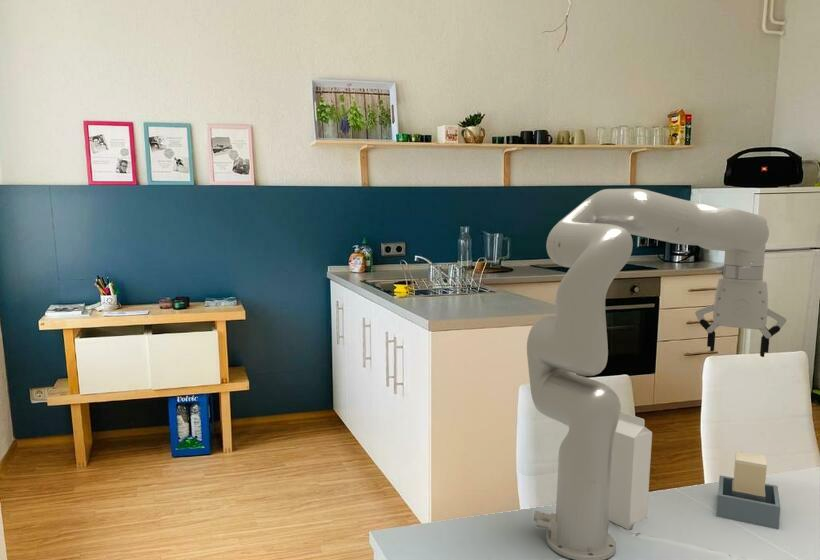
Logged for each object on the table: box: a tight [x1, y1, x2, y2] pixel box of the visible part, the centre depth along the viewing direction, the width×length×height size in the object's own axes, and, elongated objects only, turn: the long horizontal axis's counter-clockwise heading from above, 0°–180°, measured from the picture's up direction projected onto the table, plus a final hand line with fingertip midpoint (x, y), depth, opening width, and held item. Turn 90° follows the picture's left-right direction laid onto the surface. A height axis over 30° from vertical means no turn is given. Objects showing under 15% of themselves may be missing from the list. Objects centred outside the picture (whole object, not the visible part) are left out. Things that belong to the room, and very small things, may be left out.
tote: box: [716, 474, 781, 530], centre depth 135 cm, size 11×11×6 cm
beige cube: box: [733, 450, 768, 496], centre depth 134 cm, size 6×6×6 cm
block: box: [731, 480, 766, 503], centre depth 135 cm, size 6×6×5 cm
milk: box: [608, 411, 653, 531], centre depth 131 cm, size 6×6×22 cm
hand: (736, 352), depth 140 cm, fingers open, 9 cm apart
